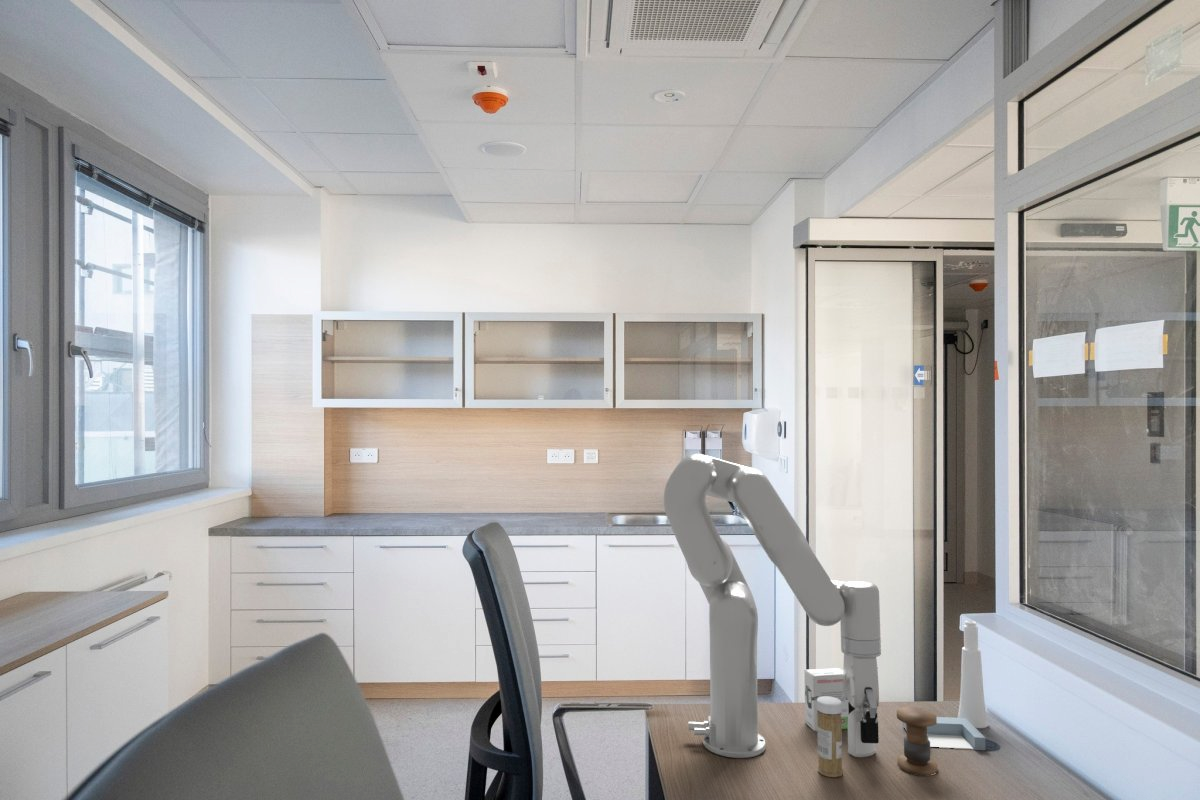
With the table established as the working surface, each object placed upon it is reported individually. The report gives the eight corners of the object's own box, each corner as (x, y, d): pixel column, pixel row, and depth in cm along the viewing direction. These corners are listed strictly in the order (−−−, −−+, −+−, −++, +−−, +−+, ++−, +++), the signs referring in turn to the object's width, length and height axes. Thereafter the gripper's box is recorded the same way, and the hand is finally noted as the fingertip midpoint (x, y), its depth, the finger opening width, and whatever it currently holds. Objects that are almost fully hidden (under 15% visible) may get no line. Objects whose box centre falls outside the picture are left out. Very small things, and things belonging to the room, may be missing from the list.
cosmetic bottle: (961, 727, 156) (959, 624, 157) (954, 716, 162) (952, 617, 163) (992, 729, 155) (989, 626, 156) (983, 718, 160) (981, 619, 161)
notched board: (918, 747, 146) (917, 734, 146) (902, 727, 156) (902, 715, 156) (985, 750, 145) (985, 737, 145) (965, 729, 155) (965, 718, 155)
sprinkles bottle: (847, 776, 134) (846, 703, 134) (825, 779, 132) (824, 705, 133) (834, 765, 138) (833, 694, 139) (812, 768, 137) (811, 696, 138)
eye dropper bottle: (879, 759, 141) (878, 696, 141) (850, 757, 141) (849, 695, 142) (873, 749, 145) (872, 688, 146) (844, 747, 146) (844, 687, 146)
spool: (904, 774, 134) (903, 720, 135) (892, 758, 141) (892, 706, 142) (943, 776, 134) (942, 721, 134) (930, 759, 140) (929, 707, 141)
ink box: (840, 720, 160) (839, 666, 160) (851, 729, 155) (851, 673, 155) (804, 722, 158) (803, 668, 159) (814, 732, 154) (813, 675, 154)
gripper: (832, 632, 153) (834, 714, 152) (851, 658, 136) (854, 750, 135) (868, 633, 152) (871, 715, 152) (893, 658, 135) (895, 752, 134)
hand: (863, 732), depth 143 cm, fingers open, 9 cm apart
